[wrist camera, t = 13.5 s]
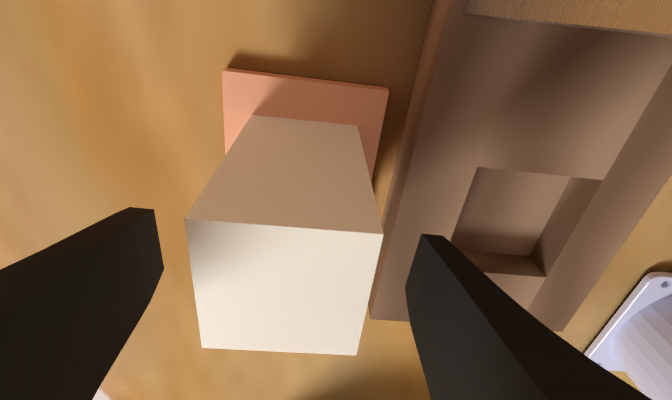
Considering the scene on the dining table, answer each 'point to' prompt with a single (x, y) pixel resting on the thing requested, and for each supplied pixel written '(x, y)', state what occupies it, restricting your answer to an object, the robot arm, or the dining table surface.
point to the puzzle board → (526, 155)
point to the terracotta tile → (303, 104)
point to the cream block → (286, 240)
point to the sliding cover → (584, 13)
